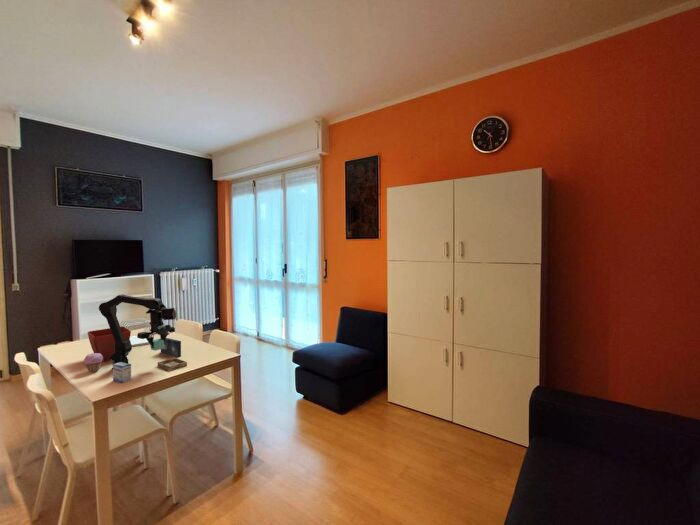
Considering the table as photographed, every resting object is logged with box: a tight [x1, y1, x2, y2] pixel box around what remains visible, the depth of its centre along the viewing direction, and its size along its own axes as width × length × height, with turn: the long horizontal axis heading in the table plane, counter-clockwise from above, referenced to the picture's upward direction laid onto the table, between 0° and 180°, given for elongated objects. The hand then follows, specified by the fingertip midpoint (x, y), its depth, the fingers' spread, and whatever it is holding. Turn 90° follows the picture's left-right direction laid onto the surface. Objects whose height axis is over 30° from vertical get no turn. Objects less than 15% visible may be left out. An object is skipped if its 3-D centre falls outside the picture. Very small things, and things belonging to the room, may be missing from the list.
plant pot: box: [87, 325, 132, 363], centre depth 211 cm, size 19×19×17 cm
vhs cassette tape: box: [160, 337, 182, 358], centre depth 218 cm, size 18×3×10 cm, turn 59°
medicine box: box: [112, 362, 132, 384], centre depth 175 cm, size 8×4×9 cm, turn 69°
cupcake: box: [83, 352, 104, 373], centre depth 188 cm, size 9×9×10 cm
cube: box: [150, 338, 164, 351], centre depth 194 cm, size 5×5×5 cm
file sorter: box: [120, 317, 155, 348], centre depth 246 cm, size 25×17×16 cm
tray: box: [157, 357, 188, 371], centre depth 196 cm, size 10×13×2 cm
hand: (157, 347), depth 195 cm, fingers closed on cube, 5 cm apart
